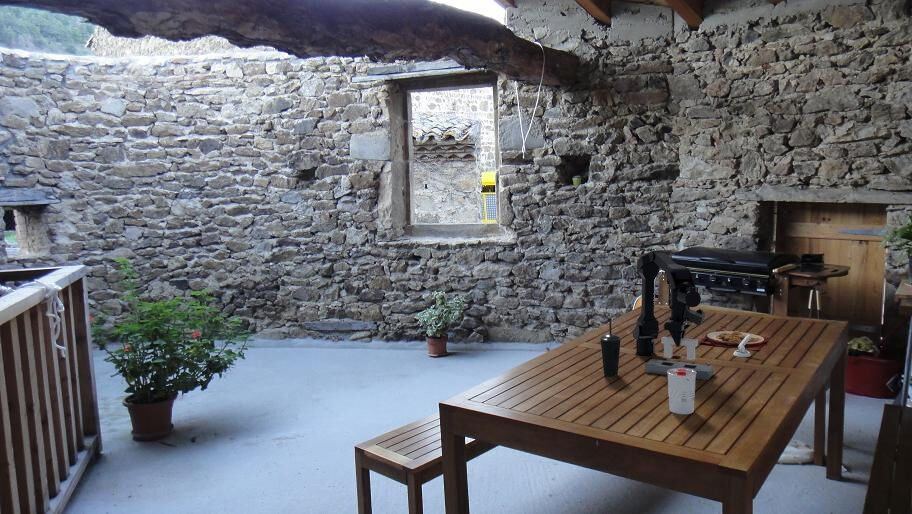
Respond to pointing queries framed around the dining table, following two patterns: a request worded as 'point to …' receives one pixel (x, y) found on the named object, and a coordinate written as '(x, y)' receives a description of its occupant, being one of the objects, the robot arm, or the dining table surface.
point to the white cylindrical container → (681, 390)
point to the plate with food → (733, 339)
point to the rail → (662, 367)
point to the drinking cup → (610, 352)
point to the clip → (684, 342)
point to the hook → (743, 348)
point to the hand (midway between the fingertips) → (679, 345)
